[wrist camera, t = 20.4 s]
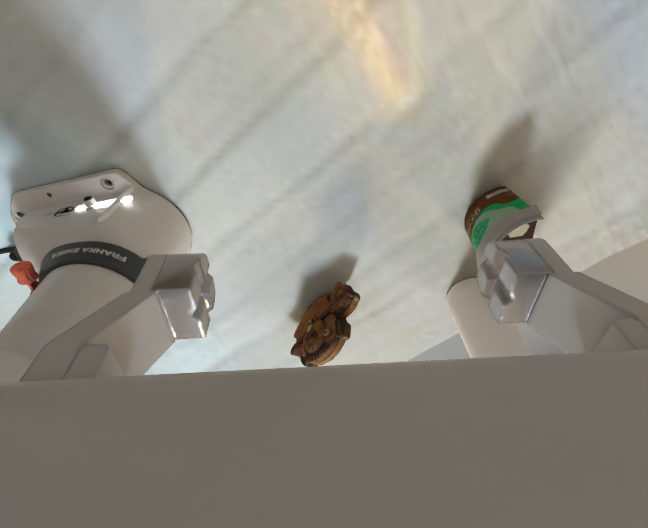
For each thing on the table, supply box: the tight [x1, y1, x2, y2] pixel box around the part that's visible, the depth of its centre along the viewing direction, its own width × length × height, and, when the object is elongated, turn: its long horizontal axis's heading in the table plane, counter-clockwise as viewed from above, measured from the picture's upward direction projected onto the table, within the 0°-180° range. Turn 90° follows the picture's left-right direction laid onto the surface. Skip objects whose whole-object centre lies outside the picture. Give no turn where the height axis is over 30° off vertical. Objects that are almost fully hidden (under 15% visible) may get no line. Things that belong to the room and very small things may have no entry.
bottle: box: [446, 278, 533, 358], centre depth 52 cm, size 8×8×30 cm
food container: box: [465, 186, 544, 269], centre depth 51 cm, size 12×6×10 cm, turn 7°
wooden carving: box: [291, 282, 360, 367], centre depth 60 cm, size 16×5×10 cm, turn 150°
